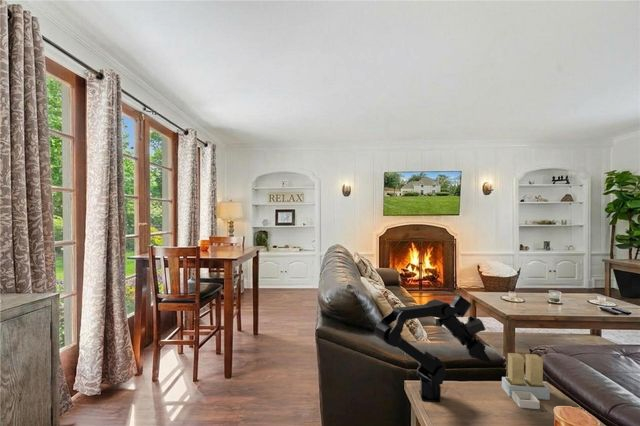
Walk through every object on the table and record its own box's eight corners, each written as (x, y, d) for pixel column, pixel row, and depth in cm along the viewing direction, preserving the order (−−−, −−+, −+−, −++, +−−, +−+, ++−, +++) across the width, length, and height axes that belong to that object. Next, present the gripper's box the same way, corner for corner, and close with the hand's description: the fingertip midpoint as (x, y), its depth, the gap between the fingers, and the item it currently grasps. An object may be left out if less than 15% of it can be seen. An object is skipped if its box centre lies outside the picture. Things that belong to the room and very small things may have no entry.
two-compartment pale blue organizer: (509, 396, 120) (509, 385, 120) (501, 387, 127) (501, 376, 127) (549, 399, 118) (549, 388, 118) (539, 389, 125) (539, 379, 125)
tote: (519, 407, 114) (519, 400, 114) (511, 397, 120) (511, 390, 120) (539, 409, 113) (539, 401, 113) (530, 398, 119) (530, 391, 119)
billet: (512, 391, 121) (512, 357, 122) (507, 385, 125) (507, 352, 125) (524, 391, 121) (524, 358, 121) (519, 386, 125) (519, 353, 125)
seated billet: (531, 392, 121) (530, 358, 121) (525, 386, 124) (525, 353, 125) (543, 393, 120) (543, 359, 120) (537, 387, 124) (537, 354, 124)
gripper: (479, 319, 114) (513, 353, 113) (463, 305, 133) (492, 333, 131) (455, 341, 115) (488, 374, 114) (443, 323, 134) (471, 352, 132)
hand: (485, 357), depth 123 cm, fingers open, 9 cm apart
